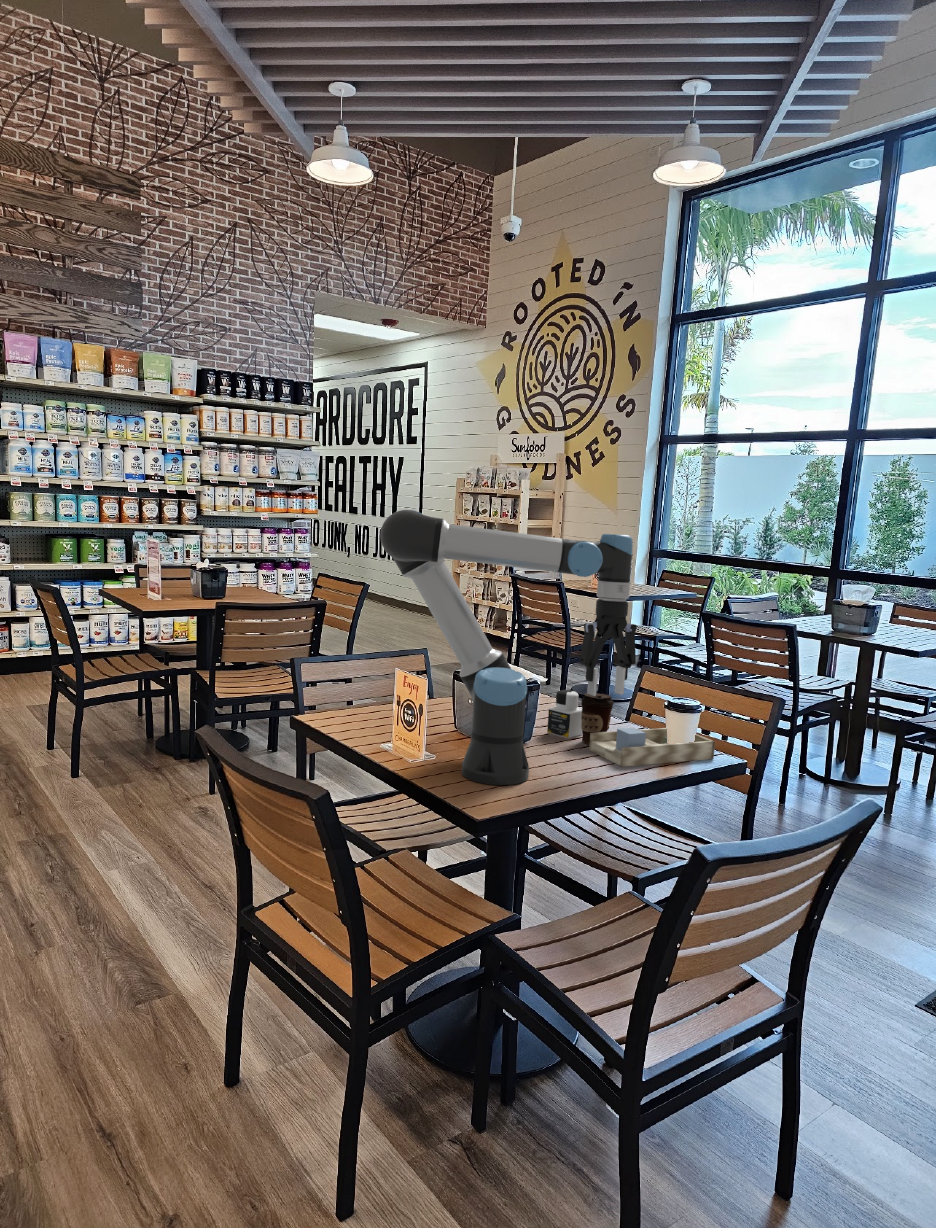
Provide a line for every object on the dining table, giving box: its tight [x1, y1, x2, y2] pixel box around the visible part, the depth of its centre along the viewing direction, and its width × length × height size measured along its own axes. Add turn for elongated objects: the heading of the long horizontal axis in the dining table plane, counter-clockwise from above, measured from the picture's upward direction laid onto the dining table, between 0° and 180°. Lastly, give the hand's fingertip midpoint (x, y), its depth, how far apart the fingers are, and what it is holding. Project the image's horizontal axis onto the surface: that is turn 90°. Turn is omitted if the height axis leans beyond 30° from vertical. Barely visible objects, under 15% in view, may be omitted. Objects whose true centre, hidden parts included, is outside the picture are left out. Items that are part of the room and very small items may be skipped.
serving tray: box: [588, 727, 716, 768], centre depth 202 cm, size 28×14×4 cm, turn 114°
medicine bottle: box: [546, 689, 583, 739], centre depth 218 cm, size 7×7×12 cm
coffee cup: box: [581, 692, 614, 745], centre depth 210 cm, size 9×8×13 cm
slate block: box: [616, 727, 646, 751], centre depth 196 cm, size 5×5×5 cm
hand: (605, 693), depth 191 cm, fingers open, 7 cm apart
